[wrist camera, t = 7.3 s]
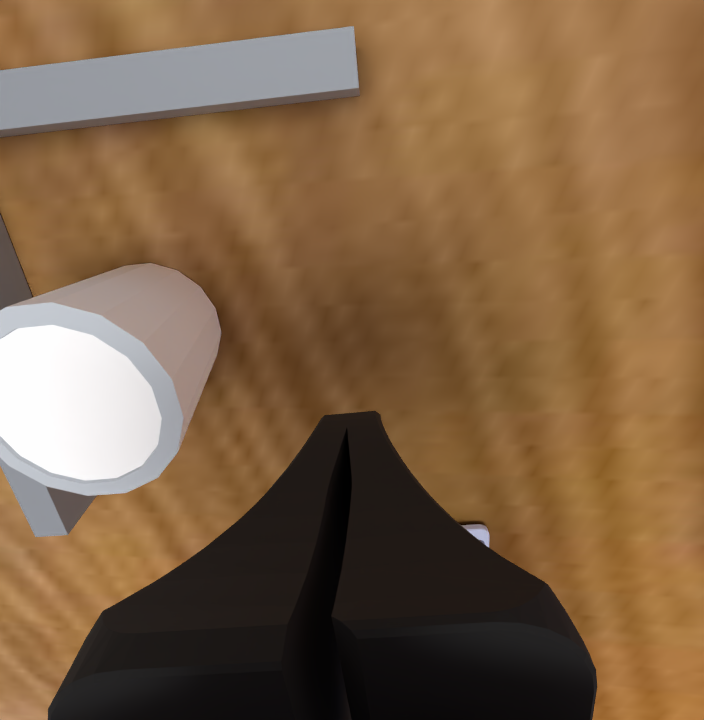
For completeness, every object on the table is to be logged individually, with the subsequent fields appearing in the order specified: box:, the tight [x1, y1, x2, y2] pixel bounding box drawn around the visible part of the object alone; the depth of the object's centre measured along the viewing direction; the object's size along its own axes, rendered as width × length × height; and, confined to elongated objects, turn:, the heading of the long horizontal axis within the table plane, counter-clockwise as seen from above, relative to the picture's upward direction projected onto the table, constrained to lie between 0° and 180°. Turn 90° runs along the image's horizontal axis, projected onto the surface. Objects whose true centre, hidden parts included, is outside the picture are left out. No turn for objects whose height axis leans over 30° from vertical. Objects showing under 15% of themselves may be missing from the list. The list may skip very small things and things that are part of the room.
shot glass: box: [0, 263, 221, 496], centre depth 18 cm, size 7×7×7 cm
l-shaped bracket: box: [0, 26, 360, 537], centre depth 19 cm, size 18×16×4 cm
